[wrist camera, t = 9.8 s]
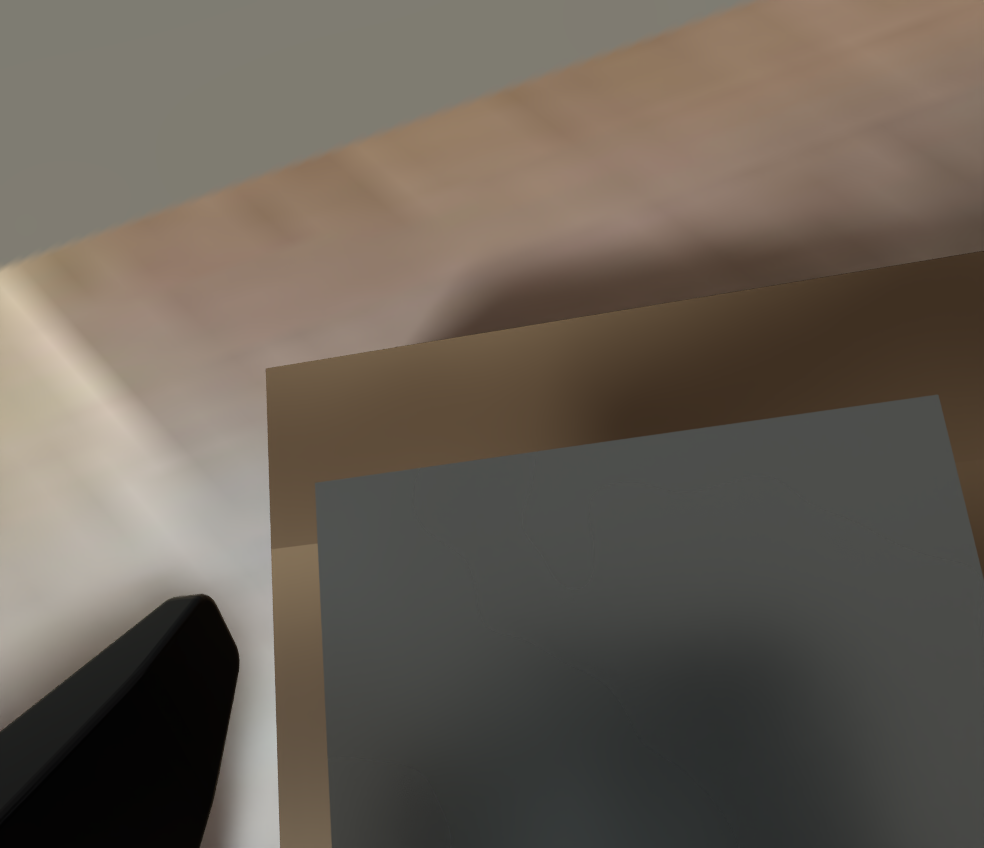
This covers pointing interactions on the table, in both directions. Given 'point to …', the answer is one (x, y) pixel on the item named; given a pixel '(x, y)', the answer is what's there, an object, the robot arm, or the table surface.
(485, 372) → the brown square wooden frame
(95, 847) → the robot arm
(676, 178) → the table surface
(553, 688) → the grey rectangular block
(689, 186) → the table surface
